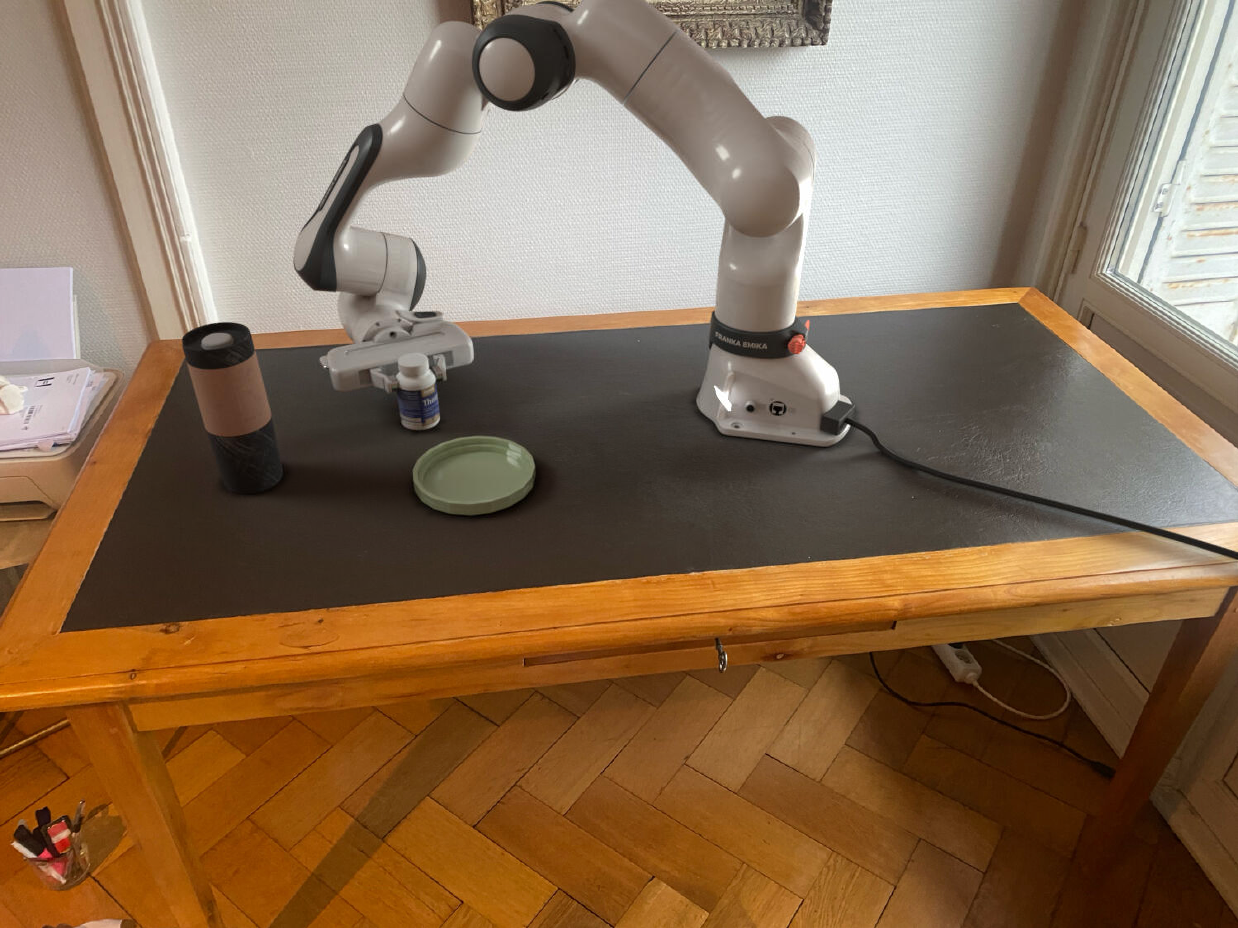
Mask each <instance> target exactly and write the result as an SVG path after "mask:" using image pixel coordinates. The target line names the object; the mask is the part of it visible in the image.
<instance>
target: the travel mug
mask: <svg viewBox="0 0 1238 928" xmlns="http://www.w3.org/2000/svg"><path fill="white" fill-rule="evenodd" d="M181 344H182V351H183V354H184V357H185V361H186V366H187V369H188V373H189V376H190V379H191V383H192V387H193V390H194V393H195V397H196V400H197V403H198V404H197V405H198V408H199V412H200V414H201V418H202V422H203V425H204V428H205V431H206V435H207V437H208V440H209V443H210V446H211V450H212V453H213V456H214V458H215V461H216V464H217V467H218V470H219V473H220V476H221V479H222V482H223V484H224V486H225V488H226V489H227V490H228V491H230V492H231V493H234V494H240V495H252V494H257V493H261V492H264V491H267V490H269V489H272V488H273V487H274V486H276V485H277V484H279V483H280V481H281V480H282V478H283V474H284V472H283V464H282V460H281V454H280V450H279V445H278V440H277V435H276V431H275V425H274V421H273V416H272V411H271V408H270V403H269V399H268V395H267V392H266V387H265V383H264V379H263V375H262V372H261V367H260V363H259V359H258V356H257V353H256V352H257V351H256V348H255V345H254V341H253V336H252V334H251V330H250V329H249V327H248V326H246V325H244V324H242V323H239V322H233V321H219V322H213V323H208V324H203V325H200V326H197V327H194V328H193V329H191V330H189V331H187V332H186V333H185V334H183V336H182V338H181Z"/></svg>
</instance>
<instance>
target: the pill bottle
mask: <svg viewBox="0 0 1238 928" xmlns="http://www.w3.org/2000/svg"><path fill="white" fill-rule="evenodd" d="M398 369H399V371H400V372H399V373H398V374H397V375H396V378H395V379H397V381H398V388H399V391H397V392H396V395H397V401H398V402H397V403H398V409H399V417H400V422H401V424H402V426H403V427H404V428H405V429H409V430H413V431H426V430H429V429H431V428H434V427H435V426H437V425H438V424H439V422H440V420H441V414H440V406H439V398H438V390H437V389H438V387H437V382H436V378H435V374H434V373H433V371H431V370H430V369H429V363H428V358H427V356H425V355H423V354H419V353H410V354H406V355H403V356H401V357H400V358H399V359H398Z"/></svg>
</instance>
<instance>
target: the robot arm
mask: <svg viewBox="0 0 1238 928" xmlns="http://www.w3.org/2000/svg"><path fill="white" fill-rule="evenodd" d="M579 80H586V81H589V82H592V83H594V84H596V85H598V86H599V87H601V88H602V89H603V90H604V91H606V92H607V93H608V94H609V95H610V96H611V97H612V98H613V99H615V101H617V102H618V103H619V104H620V105H622V106H623V107H624V108H625V109H626V110H627V111H628V112H629V113H630V114H632V115H633V116H634V117H635V118H636V119H637V120H638V121H639V122H640V123H642V124H643V125H644V126H645V127H646V128H647V129H649V131H650V132H652V133H653V134H654V135H655V136H656V137H657V138H658V139H659V140H661V141H662V142H663V143H664V145H666V146H667V147H668V148H669V149H670V150H672V152H673V153H674V154H675V155H676V156H677V158H679V160H680V161H681V162H682V163H683V165H684V166H685V167H686V168H687V169H688V171H689V172H690V174H691V175H692V176H693V177H694V178H695V180H696V181H697V182H698V183H699V185H700V186H701V187H702V188H703V189H704V190H705V192H707V194H708V195H709V196H710V197H711V199H712V200H713V201H714V202H715V203H716V205H717V206H718V207H719V208H720V210H721V213H722V215H723V217H724V222H723V229H722V236H721V244H720V250H719V255H718V263H717V277H716V290H715V301H714V310H713V311H711V316H710V320H709V327H708V328H709V329H708V349H709V355H708V361H707V365H706V369H705V373H704V377H703V380H702V383H701V386H700V388H699V390H698V391H699V392H698V394H697V396H696V406H697V407H698V409H699V411H700V412H701V413H702V414H703V415H704V416H705V417H706V418H708V419H709V420H711V422H713V423H714V424H715V426H716V428H717V430H718V431H719V433H721V434H723V435H726V436H731V437H741V438H749V439H757V440H765V441H773V442H781V443H789V444H790V443H791V444H797V445H805V446H806V445H807V446H815V447H825V448H826V447H830V446H832V445H835V444H837V443H838V442H840V441H841V440H842V439H844V438H845V436H846V435H847V434H848V432H849V431H850V428H851V427H852V428H854V429H856V430H859V431H861V432H862V433H864V434H865V435H867V436H868V437H869V439H870V440H872V441H871V442H872V444H873V445H874V447H875V448H876V449H877V450H879V452H881V453H882V454H884V455H885V456H887V457H888V458H890V459H892V460H894V461H896V462H898V463H899V464H901V465H903V466H906V467H909V468H912V469H915V470H918V471H921V472H922V473H926V474H929V475H931V476H934V477H937V478H940V479H944V480H946V481H950V482H953V483H956V484H957V483H958V484H961V485H965V486H968V487H969V486H970V487H973V488H976V489H977V488H978V489H981V490H986V491H989V492H993V493H997V494H1001V495H1005V496H1007V497H1012V498H1016V499H1020V500H1023V501H1026V502H1032V503H1035V504H1039V505H1043V506H1046V507H1050V508H1055V509H1057V510H1061V511H1065V512H1070V513H1074V514H1078V515H1082V516H1085V517H1089V518H1092V519H1096V520H1100V521H1103V522H1108V523H1112V524H1115V525H1119V526H1123V527H1127V528H1130V529H1133V530H1137V531H1141V532H1144V533H1148V534H1151V535H1155V536H1158V537H1162V538H1165V539H1169V540H1171V541H1172V540H1173V541H1175V542H1179V543H1182V544H1185V545H1189V546H1192V547H1196V548H1198V549H1202V550H1205V551H1209V552H1212V553H1215V554H1218V555H1221V556H1224V557H1227V558H1231V559H1234V560H1235V561H1236V560H1237V561H1238V551H1236V550H1233V549H1230V548H1226V547H1223V546H1221V545H1217V544H1213V543H1211V542H1208V541H1203V540H1202V539H1198V538H1194V537H1191V536H1187V535H1184V534H1181V533H1177V532H1174V531H1171V530H1167V529H1164V528H1161V527H1156V526H1153V525H1149V524H1146V523H1141V522H1138V521H1135V520H1131V519H1127V518H1124V517H1120V516H1116V515H1112V514H1108V513H1104V512H1102V511H1098V510H1094V509H1089V508H1085V507H1082V506H1079V505H1074V504H1070V503H1067V502H1063V501H1059V500H1055V499H1051V498H1048V497H1043V496H1040V495H1035V494H1031V493H1028V492H1023V491H1020V490H1016V489H1012V488H1008V487H1004V486H1000V485H996V484H992V483H989V482H985V481H981V480H978V479H973V478H969V477H964V476H960V475H956V474H953V473H950V472H946V471H943V470H940V469H937V468H934V467H931V466H929V465H925V464H923V463H920V462H917V461H914V460H911V459H908V458H906V457H903V456H901V455H899V454H897V453H895V452H893V450H891V449H889V448H888V447H887V446H886V445H884V444H883V443H882V442H881V440H880V438H879V436H878V434H877V433H876V432H875V431H874V430H873V429H871V428H870V427H869V426H867V425H866V424H863V423H861V422H860V421H858V420H856V419H855V420H854V419H853V418H854V413H855V407H856V405H855V404H852V402H851V400H850V399H849V398H848V397H847V396H845V395H843V394H841V387H840V380H839V376H838V372H837V371H836V369H835V368H834V367H833V366H832V365H831V364H830V363H828V362H827V361H826V359H824V358H822V356H820V354H818V353H817V352H816V351H815V350H813V348H811V346H809V345H808V344H807V343H808V337H809V329H810V319H807V321H806V322H805V323H803V322H802V320H801V319H799V318H798V316H797V306H798V299H799V292H800V284H801V275H802V269H803V262H804V255H805V247H806V240H807V234H808V228H809V227H808V226H809V220H810V212H811V206H812V199H813V191H814V185H815V177H816V170H817V164H818V154H817V153H818V152H817V147H816V144H815V141H814V139H813V137H812V135H811V134H810V131H808V129H806V127H805V126H804V125H803V124H802V123H800V122H799V121H798V120H796V119H794V118H791V117H788V116H784V115H771V116H767V117H764V116H763V114H762V113H761V112H760V110H759V109H758V108H757V107H756V106H755V105H754V104H753V103H752V101H751V100H750V98H748V97H747V95H746V94H745V93H744V91H743V90H742V89H741V87H740V86H739V85H738V84H737V83H736V81H735V79H734V77H733V76H732V74H731V73H730V72H729V71H727V69H725V68H724V66H722V65H721V64H720V63H719V62H718V61H717V60H715V58H713V57H712V56H711V55H710V54H709V52H708V51H706V50H705V49H704V48H703V47H702V46H700V45H699V44H698V43H697V42H696V41H695V40H694V39H693V38H692V37H690V35H688V34H687V33H686V32H685V31H684V30H683V29H682V28H681V27H679V26H678V25H677V24H676V23H675V22H674V21H673V20H672V19H671V18H669V17H668V16H667V15H665V14H664V13H663V12H661V10H659V9H658V8H656V7H655V6H653V4H650V3H649V2H648V1H647V0H580V1H579V3H578V4H577V5H576V7H575V9H574V8H573V7H572V6H570V5H568V4H565V3H562V2H560V1H554V0H544V1H540V2H536V3H534V4H527V5H522V6H518V7H516V8H514V9H512V10H509V11H508V12H507V13H505V14H503V15H501V16H498V17H496V18H495V19H493V20H491V21H490V22H489V23H488V24H487V25H486V26H485V27H484V29H481V28H479V27H478V26H475V25H474V24H471V23H468V22H465V21H460V20H450V21H445V22H442V23H440V24H439V25H437V26H436V27H435V28H434V29H433V30H432V32H431V33H430V34H429V37H427V39H426V41H425V43H424V45H423V46H422V48H421V50H420V52H419V54H418V56H417V58H416V60H415V62H414V64H413V66H412V68H411V71H410V73H409V76H408V78H407V81H406V83H405V86H404V89H403V92H402V94H401V97H400V99H399V100H398V102H397V104H396V105H395V107H393V109H392V110H391V111H390V112H389V113H388V114H387V115H386V116H385V117H384V118H382V119H381V120H380V121H378V122H377V123H373V124H369V125H366V126H364V128H363V129H361V131H360V133H359V134H358V135H357V136H356V138H355V139H354V141H353V142H352V144H351V146H350V148H349V150H347V153H346V155H345V156H344V158H343V160H342V161H341V163H340V165H339V167H338V169H337V171H336V173H335V174H334V176H333V178H332V180H331V182H330V183H329V186H328V187H327V189H326V191H325V193H324V195H323V196H322V198H321V200H320V202H319V204H318V205H317V207H316V209H315V210H314V212H313V214H312V215H311V217H310V218H309V219H308V220H307V222H305V224H304V226H303V227H302V228H301V230H300V231H299V234H298V236H297V239H296V241H295V244H294V248H293V257H292V258H293V259H292V260H293V268H294V271H295V272H296V274H297V276H299V278H300V279H301V280H302V281H303V282H304V283H305V284H306V285H307V286H308V287H309V288H310V289H311V290H312V291H315V292H326V293H327V292H328V293H337V292H338V293H339V294H338V296H337V302H336V303H337V304H336V307H337V313H338V317H339V320H340V323H341V326H342V328H343V330H344V332H345V333H346V335H347V336H348V338H349V339H350V340H351V341H352V342H353V343H352V344H351V343H350V344H347V345H342V346H338V347H334V348H332V349H330V350H329V351H328V352H327V353H326V354H325V355H323V356H320V357H319V364H320V366H321V367H322V369H324V370H326V371H329V372H328V373H329V376H330V381H331V384H332V388H333V390H335V391H337V392H339V393H348V392H352V391H355V390H361V389H367V388H370V387H374V388H378V389H381V390H385V391H386V393H387V394H388V395H389V394H393V393H397V391H399V388H398V381H397V379H395V378H396V375H397V374H398V373H399V372H400V371H399V369H398V359H399V358H400V357H401V356H403V355H406V354H410V353H419V354H423V355H425V356H427V358H428V363H429V369H430V370H431V371H433V373H434V374H435V378H436V383H441V382H446V381H447V370H450V369H454V368H455V369H456V368H459V367H465V366H469V365H470V364H472V362H473V361H474V358H475V352H474V345H473V344H474V343H473V341H472V338H471V337H470V336H469V335H468V333H467V332H465V330H463V329H462V328H461V327H460V326H459V325H457V324H456V323H455V322H452V321H449V320H447V319H446V315H445V313H444V312H442V311H439V310H433V311H432V310H429V311H427V310H426V311H416V310H415V311H413V310H414V309H415V308H416V306H417V305H418V304H419V302H420V300H421V298H422V296H423V293H424V290H425V286H426V281H427V264H426V261H425V259H424V256H423V254H422V252H421V249H420V248H419V246H418V244H417V243H416V242H415V241H414V240H413V238H411V237H408V236H404V235H400V234H394V233H389V232H386V231H385V232H384V231H377V230H374V229H373V230H372V229H366V228H362V227H357V226H352V224H353V222H354V221H355V219H356V217H357V215H358V214H359V212H360V210H361V209H362V207H363V205H364V203H365V202H366V200H367V198H368V196H369V195H370V194H371V193H372V192H373V191H374V190H375V189H377V188H378V187H380V186H383V185H385V184H389V183H392V182H397V181H402V180H411V179H422V178H426V179H427V178H436V177H441V176H445V175H447V174H450V173H452V172H454V171H456V170H458V169H460V168H461V167H463V166H464V165H465V163H466V162H468V160H469V158H470V157H471V156H472V155H473V152H474V151H475V149H476V147H477V145H478V142H479V140H480V138H481V135H482V132H483V130H484V128H485V125H486V122H487V120H488V118H489V115H490V114H491V111H492V108H493V107H494V106H495V107H497V108H499V109H502V110H505V111H508V112H514V113H518V112H519V113H520V112H528V111H533V110H535V109H539V108H540V107H542V106H544V105H545V104H547V103H548V102H550V101H553V100H556V99H557V98H559V97H561V96H562V95H564V94H565V93H566V92H567V91H568V90H570V88H572V86H573V85H574V84H575V85H576V83H578V81H579Z"/></svg>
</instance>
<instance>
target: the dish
mask: <svg viewBox="0 0 1238 928" xmlns="http://www.w3.org/2000/svg"><path fill="white" fill-rule="evenodd" d="M536 477H537V476H536V464H535V462H534V457H533V455H532V454H531V453H530V451H529V450H527V449H526V448H525V447H524V446H522V445H520V444H518V443H517V442H515V441H513V440H510V439H506V438H502V437H498V436H489V435H474V436H464V437H458V438H454V439H451V440H447V441H444V442H441V443H439V444H437V445H435V446H433V447H431V448H430V449H427V451H426V452H424V453H423V454H422V455H421V456H419V458H418V459H417V460H416V462H415V464H414V466H413V468H412V481H413V482H412V483H413V488H414V489H413V490H414V493H415V494H416V495H417V496H418V498H419V500H420V502H422V503H424V504H425V505H427V506H428V507H430V508H432V509H433V510H437V511H438V512H442V513H445V514H450V515H462V516H478V515H484V514H491V513H495V512H498V511H500V510H504V509H507V508H509V507H511V506H513V505H514V504H516V503H518V502H519V501H520V502H521V500H523V499H524V498H525V497H526V496H528V494H529V492H531V490H532V489H533V487H534V483H535V480H536Z"/></svg>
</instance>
